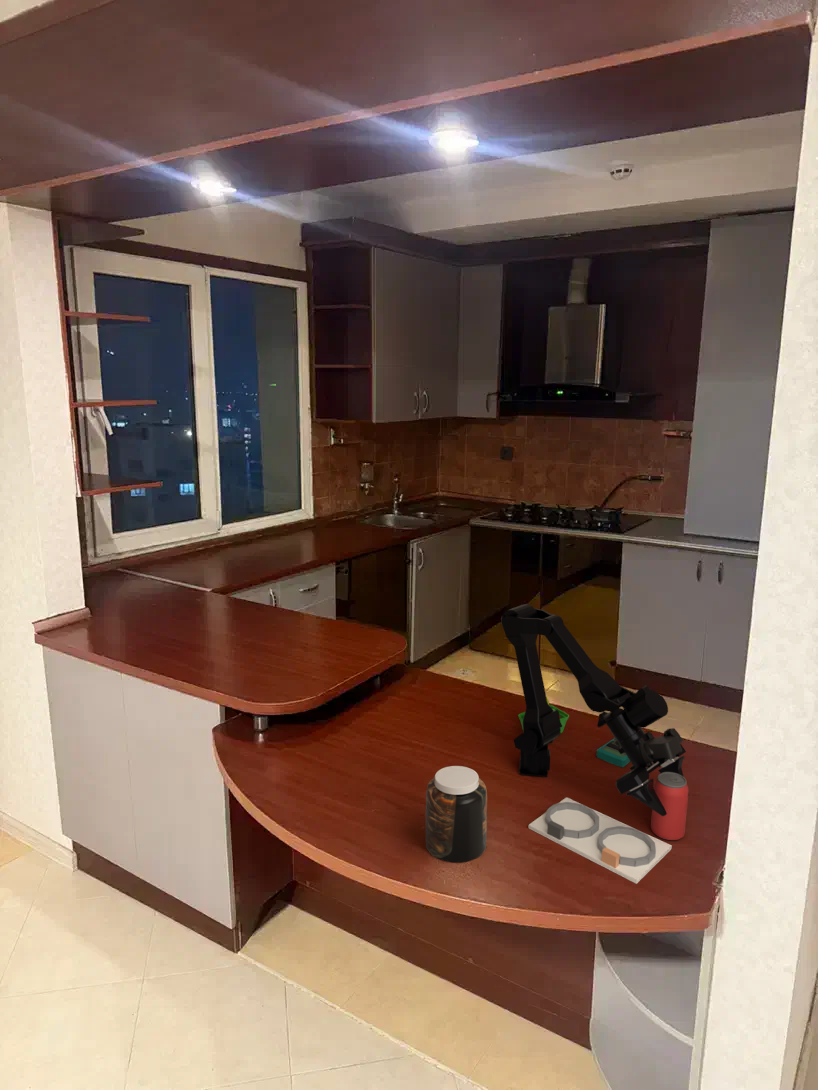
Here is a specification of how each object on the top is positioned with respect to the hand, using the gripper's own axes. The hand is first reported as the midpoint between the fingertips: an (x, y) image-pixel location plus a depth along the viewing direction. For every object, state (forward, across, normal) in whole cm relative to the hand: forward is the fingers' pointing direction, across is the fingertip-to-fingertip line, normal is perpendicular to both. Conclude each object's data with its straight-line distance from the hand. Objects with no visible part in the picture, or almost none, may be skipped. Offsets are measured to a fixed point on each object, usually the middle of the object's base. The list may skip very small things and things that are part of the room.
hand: (676, 805), depth 148 cm
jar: (-15, -34, +25) cm, 45 cm away
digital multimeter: (-12, +22, +23) cm, 34 cm away
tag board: (-2, -12, +12) cm, 17 cm away
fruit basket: (-27, +16, +37) cm, 48 cm away
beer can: (+4, 0, +6) cm, 7 cm away
